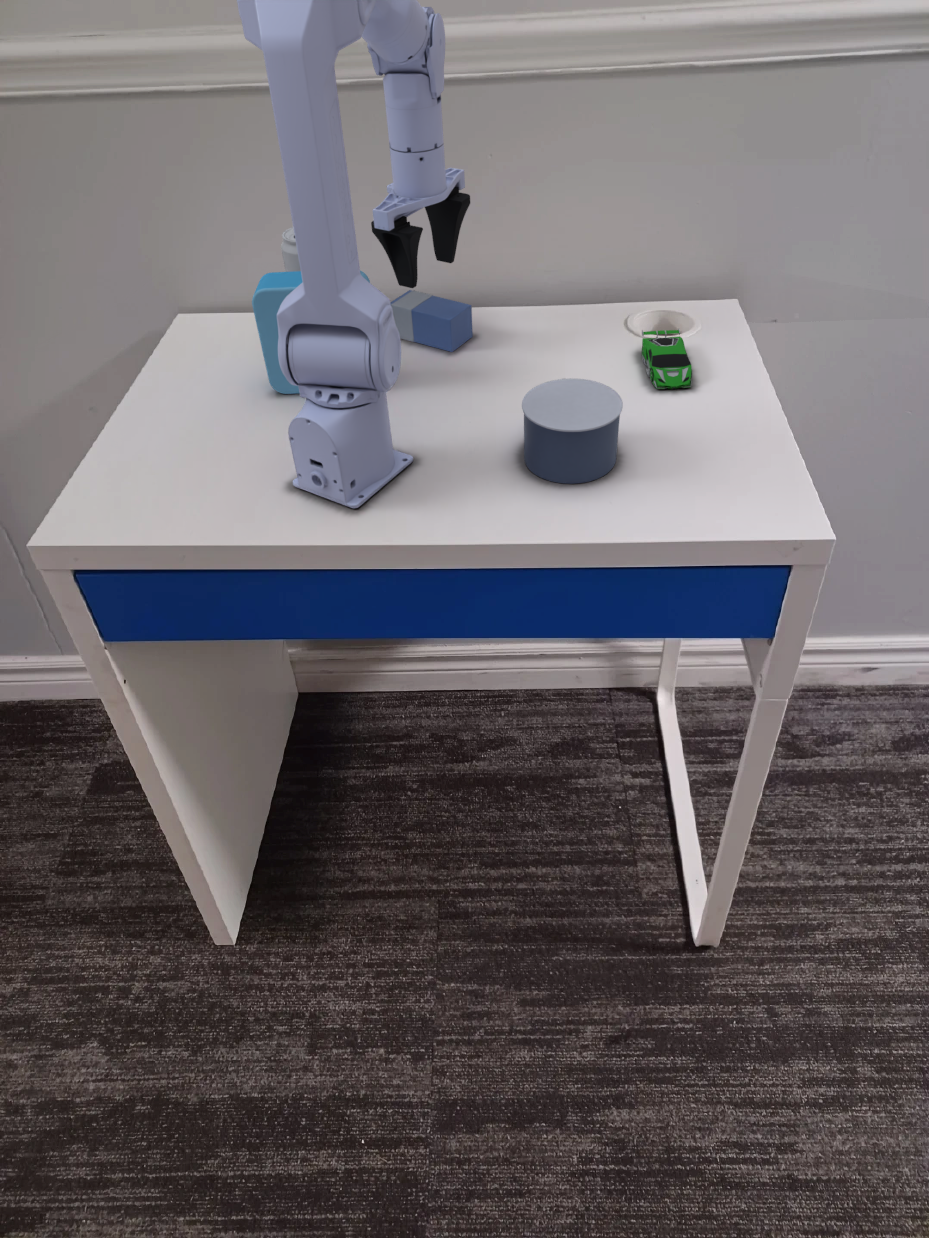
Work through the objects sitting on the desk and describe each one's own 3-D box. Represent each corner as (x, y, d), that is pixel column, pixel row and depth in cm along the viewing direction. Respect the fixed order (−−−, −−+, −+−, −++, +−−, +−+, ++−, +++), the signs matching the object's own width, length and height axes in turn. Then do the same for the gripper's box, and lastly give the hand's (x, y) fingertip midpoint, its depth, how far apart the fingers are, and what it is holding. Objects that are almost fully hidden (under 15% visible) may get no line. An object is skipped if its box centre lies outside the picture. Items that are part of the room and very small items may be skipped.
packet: (451, 353, 104) (450, 320, 101) (390, 336, 108) (387, 303, 105) (473, 337, 107) (471, 304, 104) (412, 321, 111) (409, 289, 108)
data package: (381, 371, 102) (368, 267, 94) (378, 391, 99) (364, 285, 90) (278, 375, 102) (256, 272, 94) (271, 395, 99) (248, 290, 91)
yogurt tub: (590, 496, 82) (593, 440, 78) (504, 468, 86) (502, 413, 82) (634, 447, 88) (639, 393, 84) (551, 423, 92) (552, 370, 88)
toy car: (696, 389, 95) (698, 370, 94) (652, 391, 96) (654, 372, 94) (679, 346, 103) (681, 327, 101) (638, 348, 103) (639, 329, 101)
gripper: (425, 121, 99) (434, 245, 108) (343, 160, 90) (360, 290, 100) (478, 128, 96) (482, 255, 105) (399, 169, 87) (411, 302, 97)
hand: (426, 273), depth 102 cm, fingers open, 7 cm apart
